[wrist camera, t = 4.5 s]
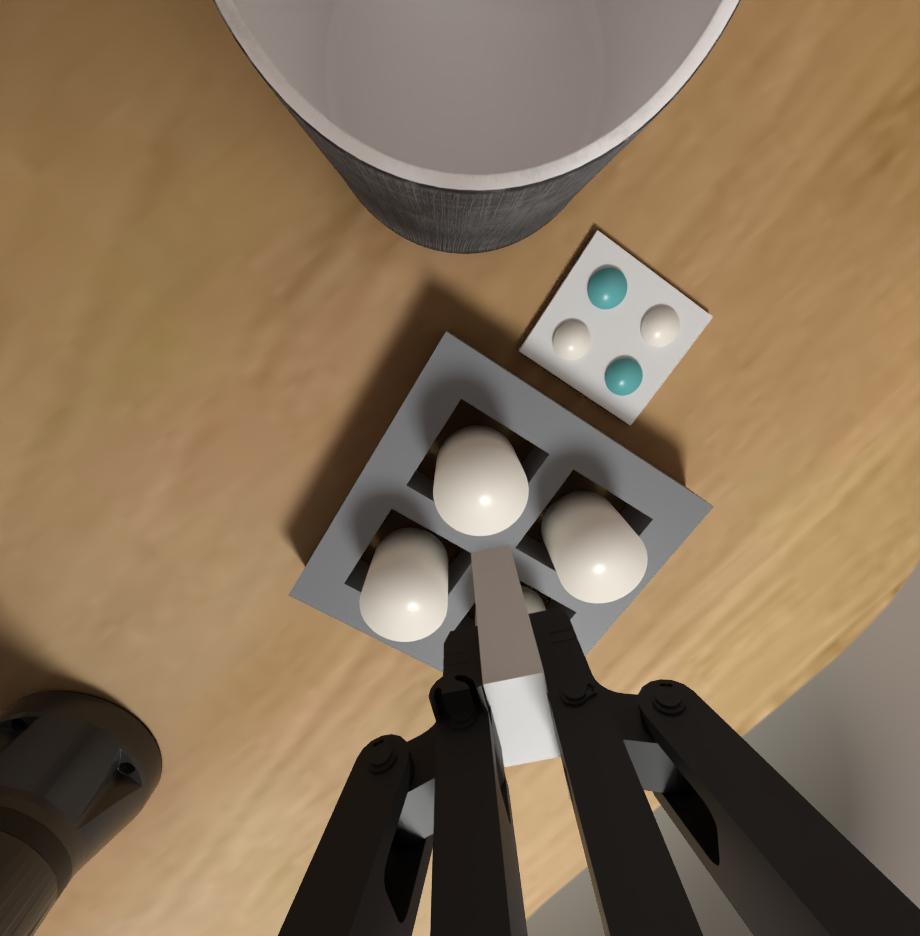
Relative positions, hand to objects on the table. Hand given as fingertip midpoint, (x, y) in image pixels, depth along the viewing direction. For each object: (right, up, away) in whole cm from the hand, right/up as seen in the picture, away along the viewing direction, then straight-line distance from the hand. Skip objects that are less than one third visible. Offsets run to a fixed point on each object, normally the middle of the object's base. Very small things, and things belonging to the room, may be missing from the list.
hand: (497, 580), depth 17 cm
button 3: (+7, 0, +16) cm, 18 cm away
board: (+1, -1, +19) cm, 19 cm away
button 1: (-5, -3, +17) cm, 18 cm away
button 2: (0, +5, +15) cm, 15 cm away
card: (+9, +14, +15) cm, 22 cm away
